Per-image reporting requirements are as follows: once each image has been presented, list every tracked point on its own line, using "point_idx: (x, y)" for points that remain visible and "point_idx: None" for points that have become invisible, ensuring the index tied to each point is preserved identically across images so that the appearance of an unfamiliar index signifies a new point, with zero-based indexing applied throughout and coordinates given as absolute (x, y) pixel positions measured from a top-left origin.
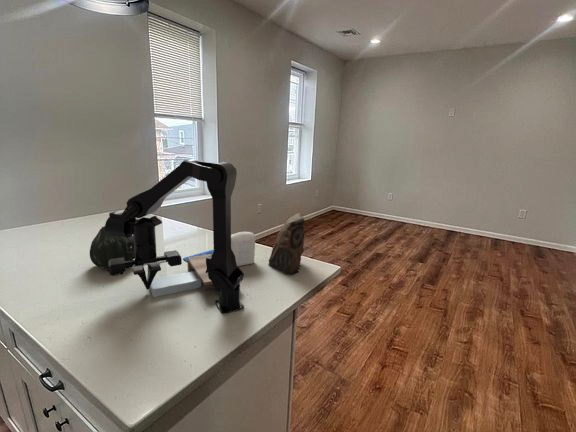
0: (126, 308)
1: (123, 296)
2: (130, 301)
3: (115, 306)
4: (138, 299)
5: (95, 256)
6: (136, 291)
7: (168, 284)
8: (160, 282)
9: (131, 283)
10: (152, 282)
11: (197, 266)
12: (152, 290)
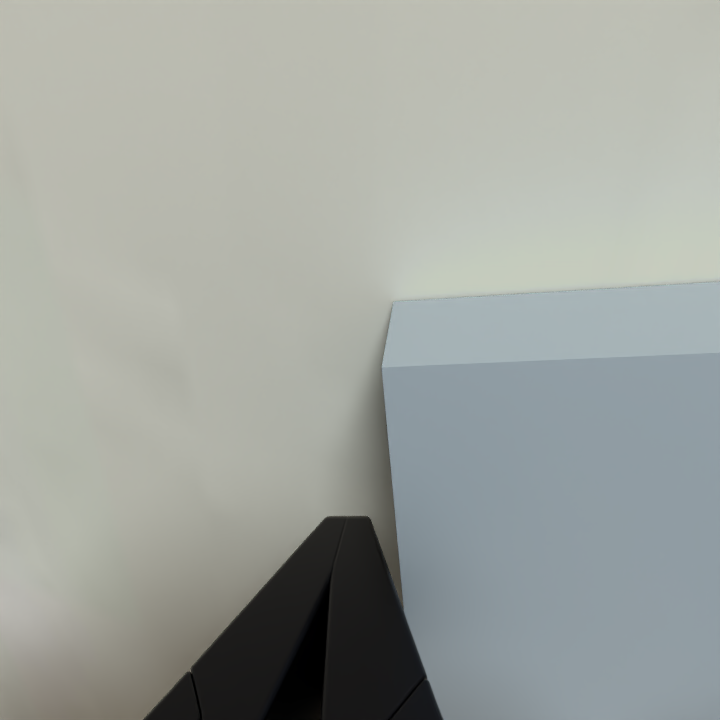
0: (143, 691)
1: (42, 457)
2: (157, 595)
3: (23, 623)
4: (243, 591)
5: None
6: (191, 384)
7: (717, 708)
8: (599, 594)
9: (42, 4)
10: (442, 540)
11: None
12: None
